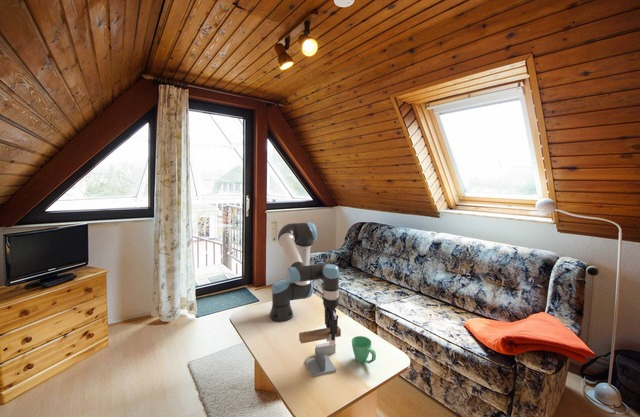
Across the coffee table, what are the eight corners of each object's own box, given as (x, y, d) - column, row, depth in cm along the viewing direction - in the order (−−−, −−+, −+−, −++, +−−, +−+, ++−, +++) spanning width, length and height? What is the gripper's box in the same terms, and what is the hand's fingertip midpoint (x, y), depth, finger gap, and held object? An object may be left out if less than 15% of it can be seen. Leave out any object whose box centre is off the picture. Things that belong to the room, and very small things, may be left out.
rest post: (315, 353, 151) (315, 344, 150) (333, 350, 154) (333, 341, 153) (317, 356, 148) (317, 347, 148) (335, 352, 151) (335, 344, 151)
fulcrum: (305, 361, 145) (305, 348, 144) (327, 356, 148) (327, 344, 147) (311, 377, 133) (311, 363, 132) (335, 371, 137) (336, 358, 136)
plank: (299, 339, 138) (299, 332, 137) (338, 332, 144) (338, 326, 143) (300, 343, 134) (300, 336, 134) (340, 336, 140) (340, 329, 140)
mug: (347, 358, 147) (347, 339, 146) (361, 351, 152) (362, 334, 151) (367, 374, 135) (367, 354, 134) (382, 366, 140) (382, 347, 139)
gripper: (318, 291, 145) (318, 335, 148) (329, 305, 130) (329, 354, 132) (332, 289, 147) (332, 333, 150) (344, 303, 132) (344, 351, 134)
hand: (330, 342), depth 141 cm, fingers closed on plank, 3 cm apart
